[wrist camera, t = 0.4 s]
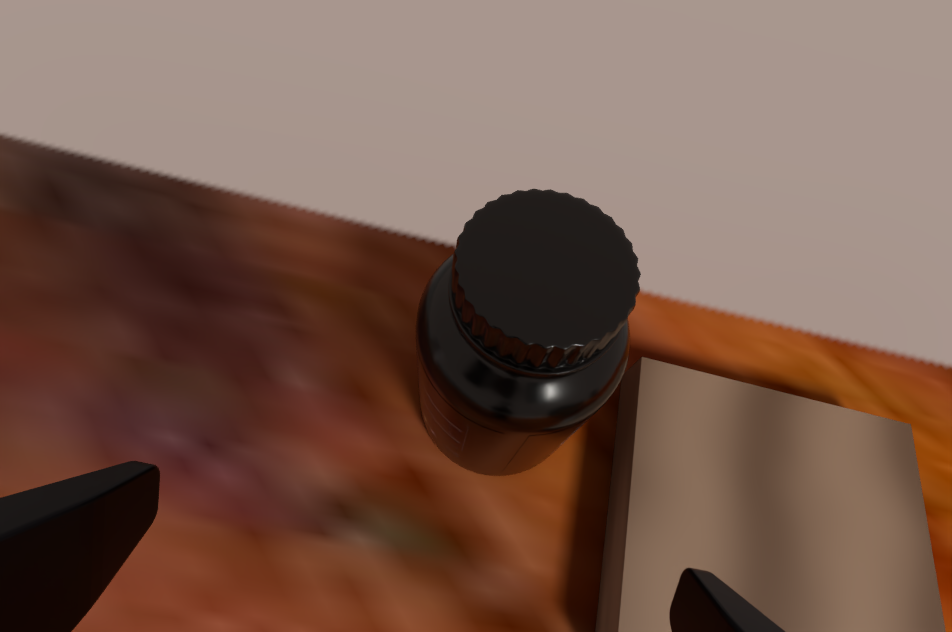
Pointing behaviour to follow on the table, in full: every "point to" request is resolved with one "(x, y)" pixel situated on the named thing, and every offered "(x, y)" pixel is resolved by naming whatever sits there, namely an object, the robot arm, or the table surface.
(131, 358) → the table surface
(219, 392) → the table surface
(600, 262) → the supplement bottle
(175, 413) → the table surface
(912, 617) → the light brown block
